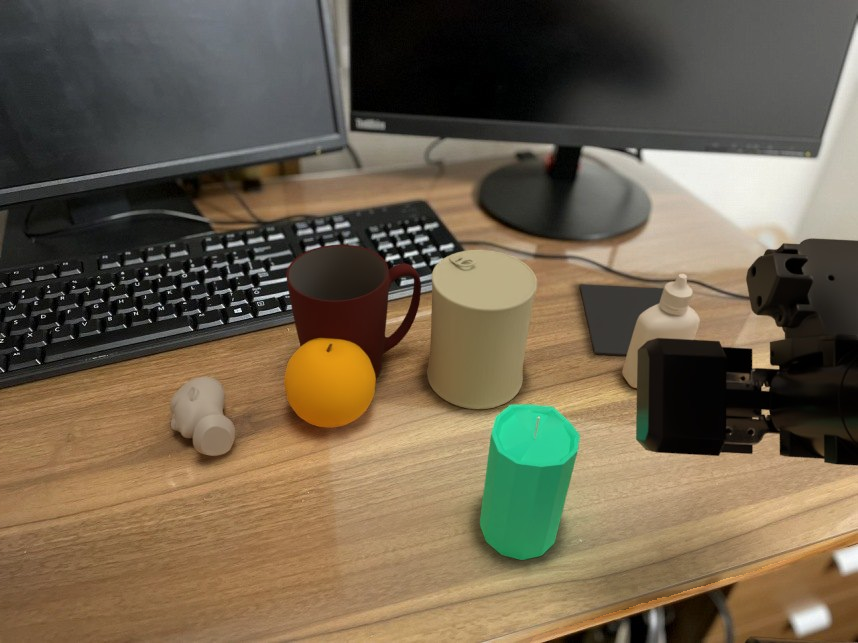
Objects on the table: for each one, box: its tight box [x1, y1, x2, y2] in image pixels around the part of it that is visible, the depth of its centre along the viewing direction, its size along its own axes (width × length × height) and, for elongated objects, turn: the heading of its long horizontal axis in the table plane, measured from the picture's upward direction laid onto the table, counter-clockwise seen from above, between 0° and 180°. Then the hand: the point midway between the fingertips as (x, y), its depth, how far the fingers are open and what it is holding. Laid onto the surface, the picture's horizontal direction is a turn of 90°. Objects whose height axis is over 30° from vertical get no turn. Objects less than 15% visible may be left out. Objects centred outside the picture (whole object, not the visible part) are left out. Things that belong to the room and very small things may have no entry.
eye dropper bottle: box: [621, 273, 701, 389], centre depth 62 cm, size 4×6×12 cm
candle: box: [479, 403, 581, 561], centre depth 48 cm, size 6×6×12 cm
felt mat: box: [579, 283, 664, 357], centre depth 72 cm, size 12×10×1 cm
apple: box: [283, 338, 377, 428], centre depth 58 cm, size 8×8×8 cm
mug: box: [286, 244, 422, 379], centre depth 62 cm, size 12×9×11 cm
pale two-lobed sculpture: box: [169, 376, 236, 457], centre depth 57 cm, size 4×8×5 cm
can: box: [426, 249, 538, 410], centre depth 61 cm, size 9×9×12 cm
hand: (743, 402), depth 45 cm, fingers open, 4 cm apart
